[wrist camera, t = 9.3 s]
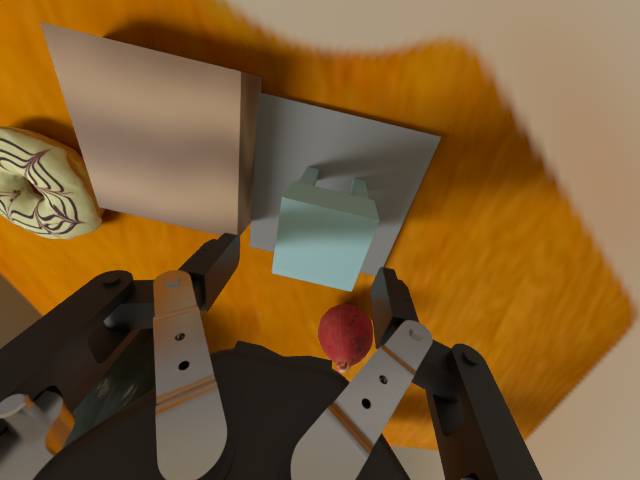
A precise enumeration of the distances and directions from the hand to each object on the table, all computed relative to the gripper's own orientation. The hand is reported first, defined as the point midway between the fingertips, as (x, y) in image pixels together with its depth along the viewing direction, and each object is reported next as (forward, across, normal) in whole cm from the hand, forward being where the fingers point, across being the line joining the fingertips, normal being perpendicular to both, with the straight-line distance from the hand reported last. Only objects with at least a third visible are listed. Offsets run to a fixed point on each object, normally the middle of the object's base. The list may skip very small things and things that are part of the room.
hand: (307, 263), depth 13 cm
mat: (+10, -1, 0) cm, 10 cm away
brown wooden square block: (+10, +12, -2) cm, 16 cm away
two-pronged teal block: (+9, -1, 0) cm, 9 cm away
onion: (+10, -6, +13) cm, 17 cm away
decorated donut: (+11, +26, +4) cm, 29 cm away
